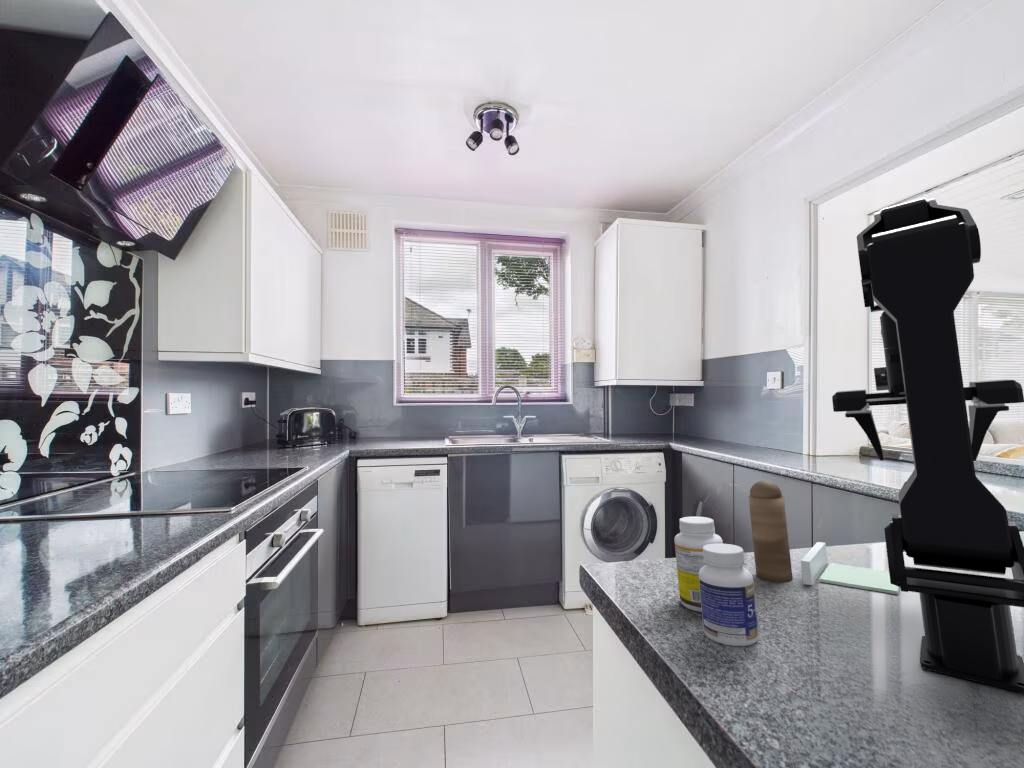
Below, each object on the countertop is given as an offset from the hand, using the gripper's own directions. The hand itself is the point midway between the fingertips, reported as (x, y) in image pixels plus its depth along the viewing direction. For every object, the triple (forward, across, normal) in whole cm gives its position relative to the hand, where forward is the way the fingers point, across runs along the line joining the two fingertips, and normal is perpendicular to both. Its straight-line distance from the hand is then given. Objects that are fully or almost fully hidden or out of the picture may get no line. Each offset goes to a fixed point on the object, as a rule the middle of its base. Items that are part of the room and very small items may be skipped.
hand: (925, 460), depth 62 cm
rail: (+15, +13, +7) cm, 21 cm away
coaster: (+15, +8, +7) cm, 18 cm away
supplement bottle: (+14, +23, +26) cm, 37 cm away
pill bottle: (+14, +18, +32) cm, 40 cm away
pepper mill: (+15, +18, +11) cm, 26 cm away
